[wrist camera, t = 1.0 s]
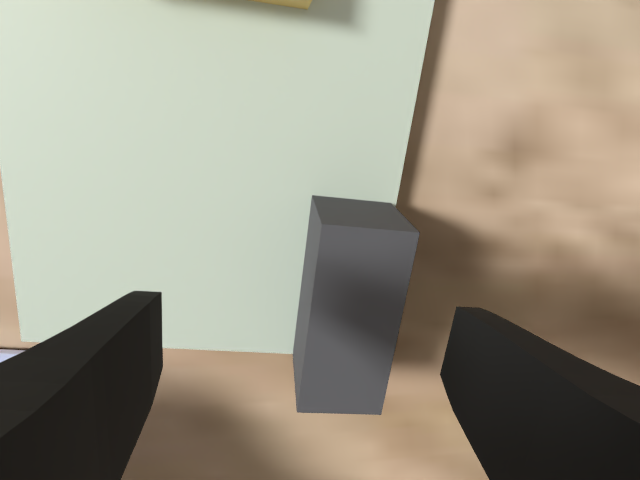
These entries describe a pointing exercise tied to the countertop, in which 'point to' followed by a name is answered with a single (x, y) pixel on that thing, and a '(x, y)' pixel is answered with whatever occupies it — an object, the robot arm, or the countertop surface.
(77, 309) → the pale green u-shaped slab
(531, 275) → the countertop surface
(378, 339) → the tall gray prism
